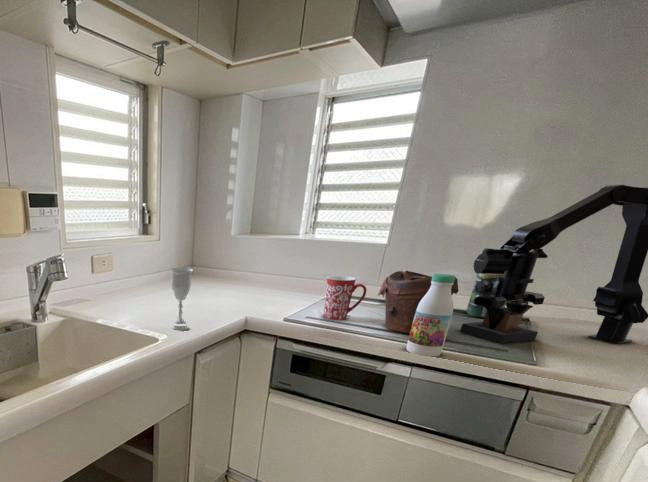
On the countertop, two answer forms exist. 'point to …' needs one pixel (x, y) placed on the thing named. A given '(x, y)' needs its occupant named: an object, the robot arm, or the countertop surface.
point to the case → (405, 297)
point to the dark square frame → (498, 333)
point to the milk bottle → (432, 318)
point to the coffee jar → (474, 308)
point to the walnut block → (505, 322)
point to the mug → (340, 296)
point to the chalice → (181, 290)
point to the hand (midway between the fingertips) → (498, 328)
